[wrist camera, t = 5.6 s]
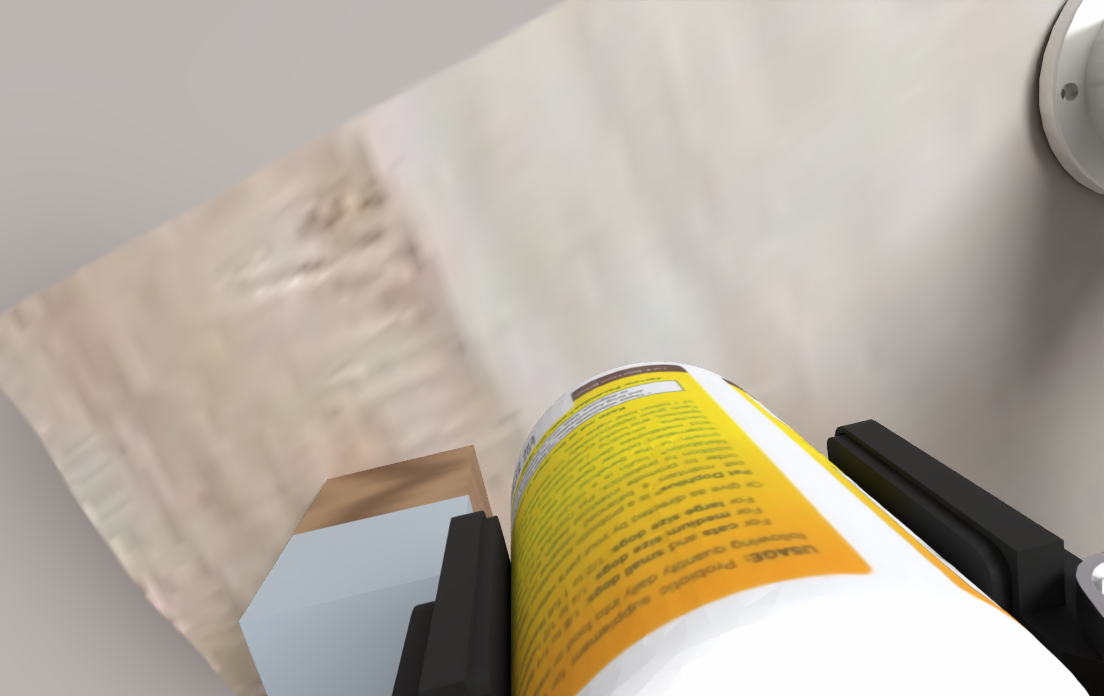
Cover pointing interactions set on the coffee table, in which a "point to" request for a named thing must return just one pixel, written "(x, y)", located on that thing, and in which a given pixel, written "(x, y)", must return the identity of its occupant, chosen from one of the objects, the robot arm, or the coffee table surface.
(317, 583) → the slate block
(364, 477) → the walnut block
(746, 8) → the coffee table surface
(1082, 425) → the coffee table surface
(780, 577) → the supplement bottle
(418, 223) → the coffee table surface
